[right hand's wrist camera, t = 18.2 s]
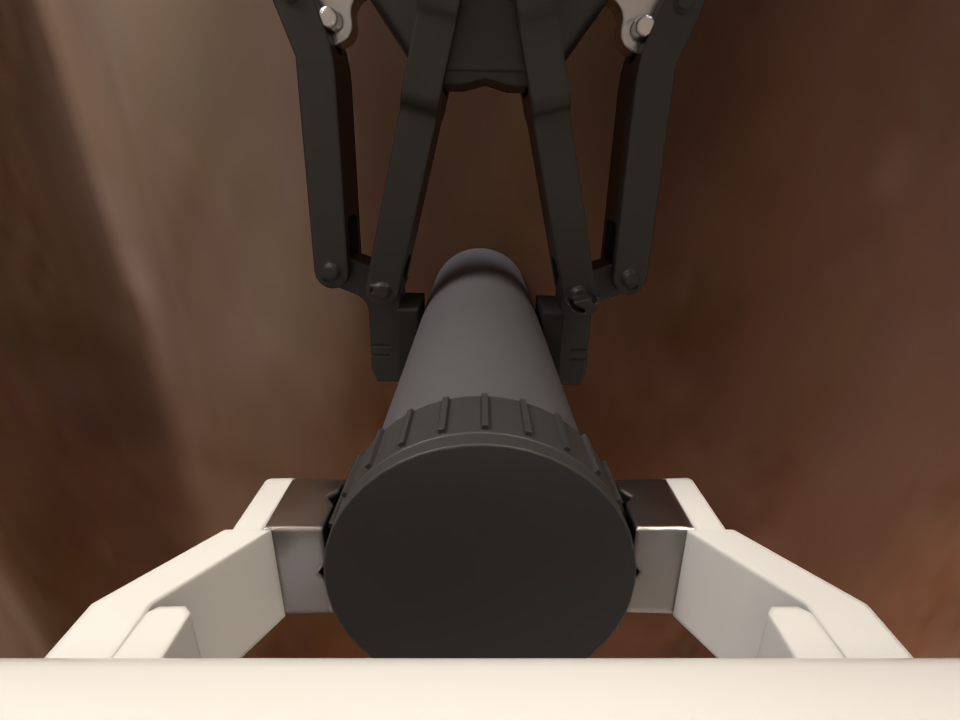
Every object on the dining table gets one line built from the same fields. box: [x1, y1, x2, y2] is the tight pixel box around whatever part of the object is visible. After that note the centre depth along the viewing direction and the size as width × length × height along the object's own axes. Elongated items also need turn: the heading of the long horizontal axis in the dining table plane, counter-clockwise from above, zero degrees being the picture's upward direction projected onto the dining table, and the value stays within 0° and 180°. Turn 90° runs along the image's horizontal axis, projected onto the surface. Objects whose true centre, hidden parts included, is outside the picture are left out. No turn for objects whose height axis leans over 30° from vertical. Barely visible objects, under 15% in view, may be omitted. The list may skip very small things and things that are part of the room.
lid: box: [324, 393, 637, 658], centre depth 10 cm, size 5×5×2 cm
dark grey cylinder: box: [382, 248, 579, 433], centre depth 18 cm, size 5×5×19 cm
